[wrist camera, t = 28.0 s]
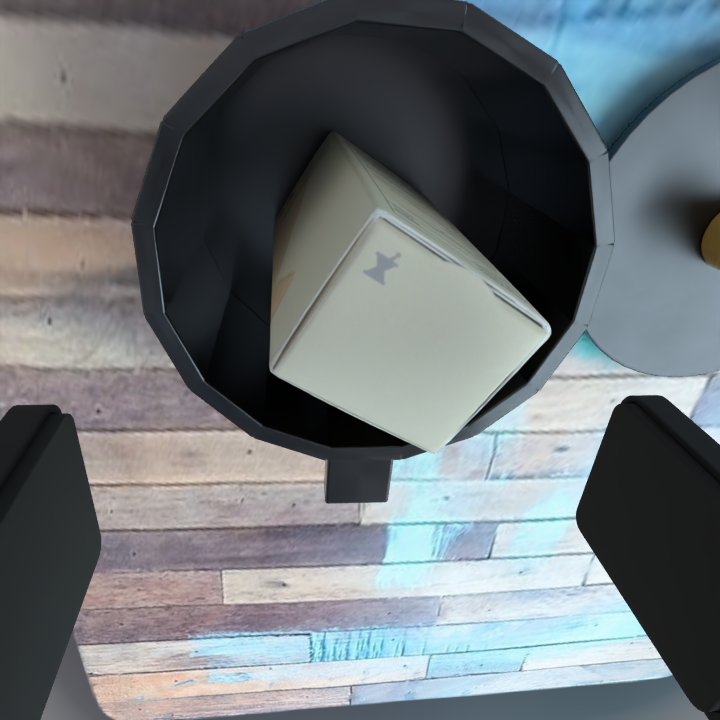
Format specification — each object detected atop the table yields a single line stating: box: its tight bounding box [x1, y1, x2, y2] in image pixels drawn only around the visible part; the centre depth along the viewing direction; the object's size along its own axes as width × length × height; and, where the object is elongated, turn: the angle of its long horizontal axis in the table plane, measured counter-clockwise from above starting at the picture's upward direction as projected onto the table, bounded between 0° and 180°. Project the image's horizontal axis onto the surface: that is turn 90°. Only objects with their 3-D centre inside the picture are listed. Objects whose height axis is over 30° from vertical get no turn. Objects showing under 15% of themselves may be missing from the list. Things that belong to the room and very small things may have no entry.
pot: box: [131, 0, 615, 503], centre depth 18 cm, size 13×19×8 cm
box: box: [269, 131, 551, 454], centre depth 16 cm, size 5×4×11 cm
